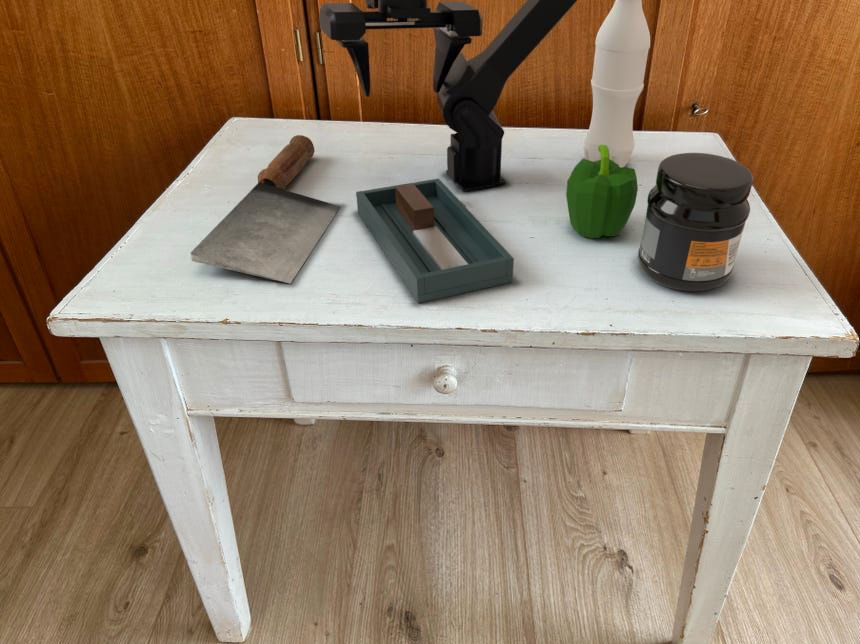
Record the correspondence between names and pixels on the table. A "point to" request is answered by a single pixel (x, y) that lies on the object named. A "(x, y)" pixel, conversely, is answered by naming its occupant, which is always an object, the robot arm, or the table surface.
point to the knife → (426, 226)
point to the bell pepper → (600, 196)
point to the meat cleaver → (270, 223)
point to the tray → (456, 224)
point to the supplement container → (695, 221)
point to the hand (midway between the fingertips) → (402, 94)
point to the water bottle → (617, 81)
